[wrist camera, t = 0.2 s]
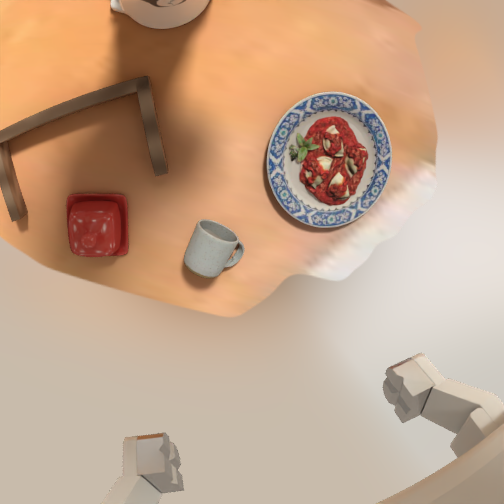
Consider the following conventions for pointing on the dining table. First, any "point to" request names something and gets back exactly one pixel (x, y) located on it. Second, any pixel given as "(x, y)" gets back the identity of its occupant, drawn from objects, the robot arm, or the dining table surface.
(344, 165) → the ceramic plate
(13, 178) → the dock
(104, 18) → the dining table surface
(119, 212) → the butter dish
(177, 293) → the dining table surface
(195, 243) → the ceramic mug
